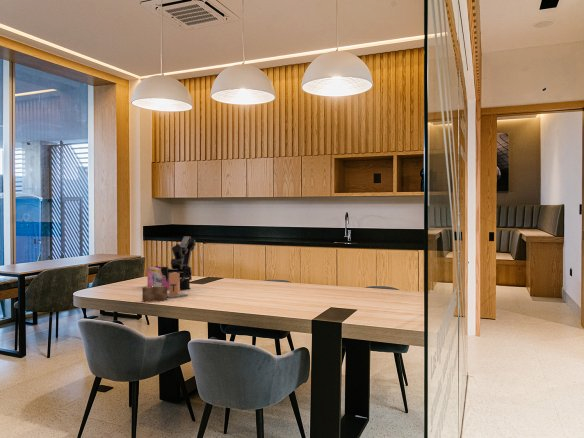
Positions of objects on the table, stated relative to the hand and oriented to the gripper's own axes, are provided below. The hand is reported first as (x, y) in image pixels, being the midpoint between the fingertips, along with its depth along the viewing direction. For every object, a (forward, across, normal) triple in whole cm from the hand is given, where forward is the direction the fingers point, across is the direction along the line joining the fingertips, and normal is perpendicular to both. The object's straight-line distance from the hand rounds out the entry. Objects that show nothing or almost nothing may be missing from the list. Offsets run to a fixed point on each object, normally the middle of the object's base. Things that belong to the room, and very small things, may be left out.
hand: (174, 281), depth 282 cm
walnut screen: (+16, -8, -3) cm, 18 cm away
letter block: (+5, 0, +7) cm, 8 cm away
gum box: (-18, -19, +31) cm, 40 cm away
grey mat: (+5, 0, +7) cm, 9 cm away
